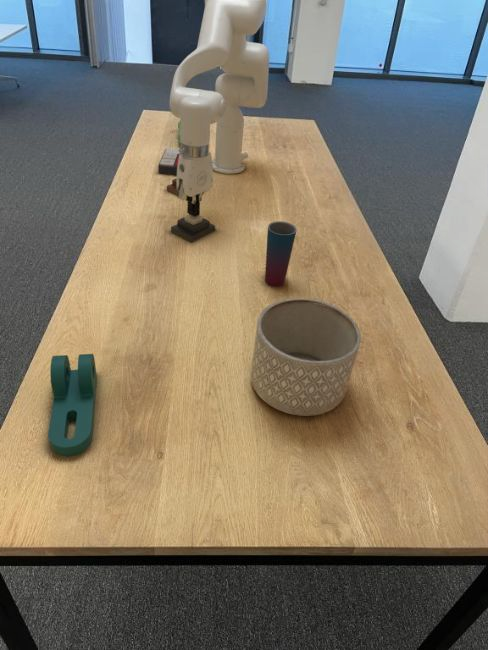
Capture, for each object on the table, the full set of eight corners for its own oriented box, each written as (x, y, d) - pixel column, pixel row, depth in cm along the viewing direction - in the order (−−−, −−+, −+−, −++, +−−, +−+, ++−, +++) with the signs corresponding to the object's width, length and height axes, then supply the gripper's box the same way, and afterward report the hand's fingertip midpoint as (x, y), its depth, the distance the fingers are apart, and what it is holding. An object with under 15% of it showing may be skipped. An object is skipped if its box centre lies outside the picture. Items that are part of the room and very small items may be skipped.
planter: (275, 432, 89) (286, 374, 80) (235, 364, 102) (241, 307, 93) (362, 406, 96) (381, 350, 87) (314, 345, 109) (326, 291, 100)
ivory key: (193, 217, 144) (193, 212, 143) (202, 222, 143) (202, 216, 142) (184, 221, 142) (184, 215, 141) (193, 226, 140) (193, 220, 139)
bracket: (60, 379, 95) (53, 348, 90) (97, 377, 96) (92, 346, 91) (47, 457, 81) (39, 426, 76) (91, 454, 82) (85, 422, 77)
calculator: (157, 163, 173) (165, 146, 184) (158, 175, 175) (165, 157, 187) (189, 166, 173) (195, 149, 184) (189, 178, 176) (195, 160, 187)
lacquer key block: (194, 221, 149) (195, 210, 147) (215, 230, 146) (215, 219, 144) (170, 232, 143) (170, 221, 141) (191, 242, 139) (191, 231, 137)
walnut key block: (187, 182, 171) (188, 172, 169) (205, 190, 167) (205, 180, 165) (166, 190, 165) (166, 180, 162) (184, 198, 161) (184, 188, 159)
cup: (291, 277, 129) (299, 225, 120) (284, 291, 124) (292, 237, 115) (265, 271, 131) (272, 218, 121) (257, 284, 126) (264, 230, 116)
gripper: (185, 159, 123) (184, 227, 134) (224, 146, 133) (220, 211, 144) (163, 151, 126) (164, 218, 138) (203, 139, 136) (201, 202, 147)
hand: (193, 214), depth 141 cm, fingers closed
